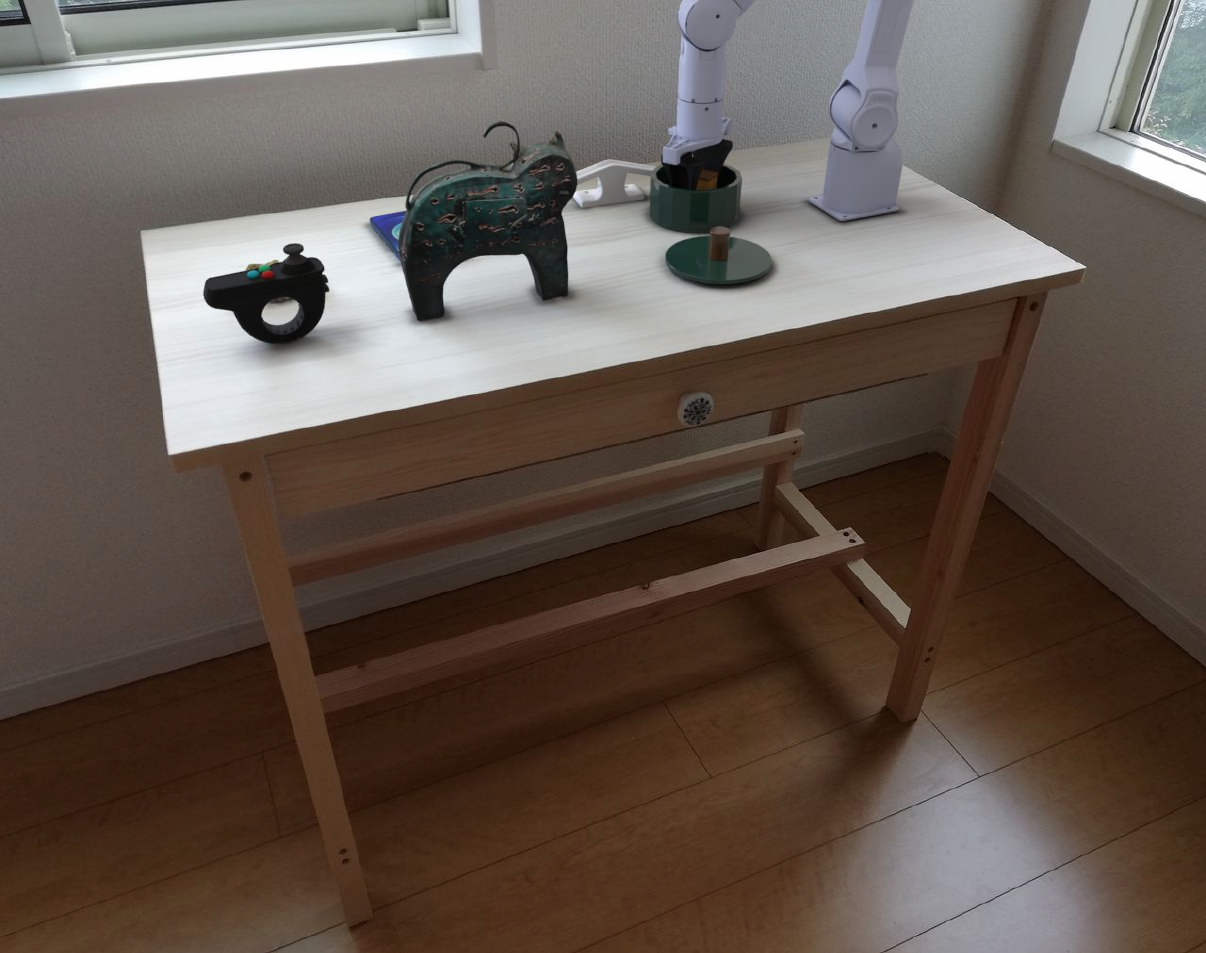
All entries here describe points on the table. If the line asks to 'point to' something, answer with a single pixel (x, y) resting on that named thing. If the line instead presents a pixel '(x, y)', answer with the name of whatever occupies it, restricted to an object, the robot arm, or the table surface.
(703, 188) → the brown block
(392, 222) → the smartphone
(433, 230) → the ceramic cat
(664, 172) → the pot
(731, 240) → the lid
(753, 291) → the table surface
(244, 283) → the controller
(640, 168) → the mooring cleat
